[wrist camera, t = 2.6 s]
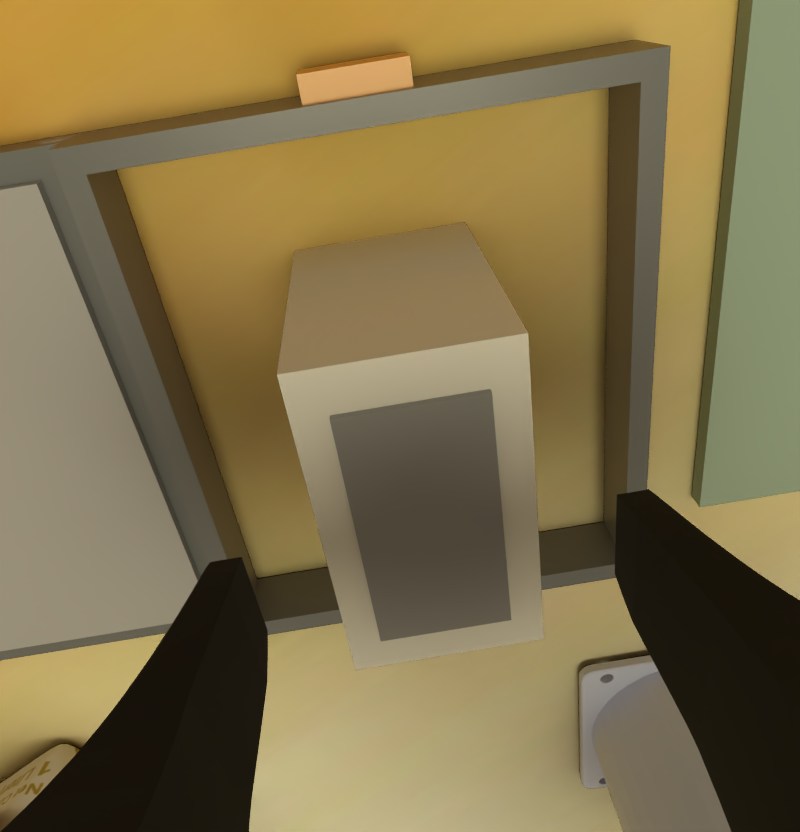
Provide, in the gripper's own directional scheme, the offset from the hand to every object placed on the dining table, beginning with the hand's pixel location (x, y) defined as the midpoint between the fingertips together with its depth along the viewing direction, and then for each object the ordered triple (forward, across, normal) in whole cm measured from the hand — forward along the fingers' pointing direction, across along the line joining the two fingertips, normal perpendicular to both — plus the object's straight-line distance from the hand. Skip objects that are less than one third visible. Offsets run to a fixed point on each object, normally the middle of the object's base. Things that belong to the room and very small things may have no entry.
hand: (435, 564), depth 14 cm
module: (+8, 0, 0) cm, 8 cm away
